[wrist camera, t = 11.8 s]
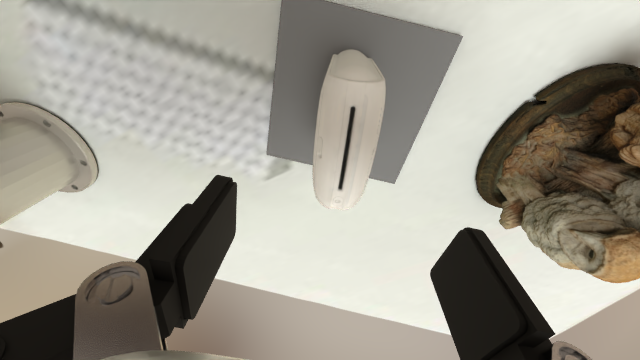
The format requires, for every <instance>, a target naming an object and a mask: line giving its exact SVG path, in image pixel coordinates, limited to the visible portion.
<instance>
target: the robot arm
mask: <svg viewBox="0 0 640 360" xmlns="http://www.w3.org/2000/svg"><path fill="white" fill-rule="evenodd" d="M97 173H98V172H97V164H96V161H95V158H94V156H93V154H92V152H91V150H90V149H89V147H88V146H87V144H86V143H85V142H84V141H83V139H82V138H81V137H80V136H79V135H78V134H77V133H76V132H75V131H74V130H73V129H72V128H71V127H69V126H68V125H67V124H66V123H64V122H63V121H61V120H60V119H59V118H57V117H55V116H54V115H52V114H50V113H49V112H47V111H44V110H42V109H40V108H38V107H35V106H32V105H28V104H25V103H18V102H12V103H5V104H1V105H0V224H2V223H4V222H6V221H7V220H9V219H11V218H12V217H14V216H16V215H17V214H19V213H21V212H23V211H24V210H26V209H28V208H29V207H31V206H33V205H35V204H36V203H38V202H40V201H41V200H43V199H45V198H47V197H48V196H50V195H52V194H53V193H55V192H57V191H61V192H79V191H82V190H84V189H86V188H88V187H89V186H91V185H92V184H93V183H94V182H95V180H96V178H97ZM236 201H237V183H236V182H233V179H232V178H230V177H225V176H220V175H216V176H215V177H214V178H213V180H212V181H211V182H210V183H209V185H208V186H207V187H206V188H205V189H204V191H203V192H202V193H201V194H200V196H199V197H198V198H197V199H196V201H195V202H194V203H193V204H185V205H184V206H183V207H182V208H181V209H180V211H179V212H178V213H177V214H176V215H175V216H174V218H173V219H172V220H171V221H170V222H169V223H168V225H167V226H166V227H165V228H164V229H163V230H162V232H161V233H160V234H159V235H158V236H157V237H156V239H155V240H154V241H153V242H152V243H151V244H150V246H149V247H148V248H147V249H146V250H145V251H144V253H143V254H142V255H141V256H140V257H139V259H138V260H137V261H136V262H118V263H114V264H110V265H108V266H105V267H102V268H101V269H99V270H97V271H96V272H94V273H92V274H91V275H90V276H89V277H88V278H86V279H85V280H84V281H83V283H82V284H81V286H80V287H79V288H78V290H77V294H75V295H72V296H70V297H67V298H64V299H62V300H60V301H57V302H54V303H52V304H49V305H46V306H44V307H41V308H39V309H36V310H33V311H31V312H29V313H26V314H23V315H21V316H18V317H15V318H13V319H10V320H8V321H5V322H3V323H0V360H248V359H241V358H233V357H226V356H220V355H213V354H206V353H195V352H185V351H168V348H167V344H166V339H165V338H167V337H168V336H170V334H171V333H172V331H173V329H174V327H178V328H184V327H185V325H186V323H187V321H188V319H194V318H195V316H196V314H197V312H198V310H199V308H200V306H201V304H202V302H203V300H204V298H205V296H206V294H207V292H208V290H209V288H210V286H211V284H212V282H213V280H214V278H215V276H216V274H217V272H218V269H219V267H220V265H221V263H222V261H223V259H224V257H225V255H226V253H227V251H228V249H229V247H230V245H231V243H232V241H233V239H234V236H235V232H236ZM430 276H431V280H432V282H433V285H434V288H435V291H436V293H437V296H438V299H439V302H440V304H441V307H442V310H443V313H444V315H445V318H446V321H447V324H448V326H449V329H450V332H451V335H452V337H453V340H454V343H455V346H456V348H457V351H458V354H459V357H460V360H592V359H591V358H590V357H589V356H587V355H586V354H585V353H583V352H582V351H581V350H580V349H578V348H577V347H575V346H573V345H572V344H569V343H566V342H562V341H557V342H555V343H553V344H552V343H551V342H550V340H549V338H550V337H552V336H553V335H555V333H554V331H553V330H552V329H551V327H550V326H549V324H548V323H547V321H546V320H545V319H544V317H543V316H542V314H541V313H540V311H539V310H538V309H537V307H536V306H535V304H534V303H533V301H532V300H531V299H530V297H529V296H528V294H527V293H526V291H525V290H524V289H523V287H522V286H521V284H520V283H519V281H518V280H517V279H516V277H515V276H514V274H513V273H512V271H511V270H510V268H509V267H508V266H507V264H506V263H505V261H504V260H503V258H502V257H501V256H500V254H499V253H498V251H497V250H496V248H495V247H494V246H493V244H492V243H491V241H490V240H489V238H488V237H487V236H486V234H485V233H484V232H483V231H482V230H478V229H473V228H464V229H463V230H460V231H459V232H458V234H457V235H456V236H455V238H454V239H453V240H452V242H451V243H450V245H449V246H448V247H447V249H446V250H445V251H444V253H443V254H442V255H441V257H440V258H439V259H438V261H437V262H436V264H435V265H434V266H433V268H432V269H431V272H430Z"/></svg>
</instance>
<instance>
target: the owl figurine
mask: <svg viewBox="0 0 640 360" xmlns="http://www.w3.org/2000/svg"><path fill="white" fill-rule="evenodd" d="M535 96H536V100H538V101H547V103H546V104H543V105H535V106H533V102H528V103H526V104H525V105H523V106H522V107H520V108H519V109H518V110H517V111H516V112H515V113H514V114H513V115H512V116H511V117H510V118H509V119H508V121H506V123H505V124H504V125H503V126H502V127H501V129H500V130H499V131H498V132H497V133H496V135H495V136H494V137H493V138H492V140H491V142H490V143H489V145H488V147H487V148H486V150H485V152H484V154H483V156H482V158H481V160H480V163H479V165H478V170H477V174H476V181H477V186H478V188H477V190H478V193H479V194H480V196H481V197H482V198H483V199H484V200H485V201H486V202H487V203H489V204H491V205H493V206H495V207H498V208H502V209H503V211H502V214H501V215H500V218H501V219H500V220H499V222H500V224H501V225H502V226H503V227H504V228H505V229H510V228H514V227H517V226H520V225H521V227H522V229H523V230H524V231H525V232H526V233H527V236H528V238H529V240H530V241H531V242H532V243H533V244H534V246H536V247H539V248H540V249H541V250H542V251H543V252H544V253H546V255H547V256H549V257H550V258H551V259H552V260H554V261H555V262H556V263H557V264H558V265H560V266H561V267H564V268H568V269H576V270H582V271H584V272H586V273H589V274H591V275H593V276H594V277H596V278H599V279H601V280H603V281H608V282H611V283H622V282H630V281H632V280H636V279H639V278H640V68H638V67H635V66H632V65H627V64H618V63H615V64H603V65H597V66H594V67H589V68H586V69H583V70H580V71H576V72H574V73H572V74H569V75H567V76H565V77H563V78H561V79H560V80H558V81H556V82H555V83H553V84H552V85H550V86H549V87H548V88H547V89H545V90H543V91H541V92H539V93H538V94H537V95H535ZM613 122H615V123H613Z"/></svg>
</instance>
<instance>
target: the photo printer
mask: <svg viewBox="0 0 640 360" xmlns="http://www.w3.org/2000/svg"><path fill="white" fill-rule="evenodd" d="M385 94H386V86H385V78H384V77H383V75H382V73H381V72H380V70H379V68H378V67H377V65H376V64H375V62H374V61H373V60H372V59H371V58H367V57H366V56H365V55H364V54H363V53H361V52H360V51H358V50H353V49H349V50H345V51H342V52H340V53H339V54H338V55H336V54H333V56H332V59H331V62H330V65H329V68H328V71H327V73H326V76H325V79H324V83H323V86H322V89H321V94H320V100H319V107H318V114H317V123H316V132H315V142H314V155H313V186H314V191H315V195H316V198H317V200H318V201H319V202H320V203H321V204H322V205H323V206H324V207H326V208H328V209H333V208H336V209H340V210H348V209H350V208H352V207H353V206H355V205H356V204H357V202H358V201H359V199H360V198H361V196H362V194H363V192H364V190H365V187H366V184H367V181H368V178H369V175H370V172H371V168H372V164H373V160H374V156H375V152H376V148H377V143H378V139H379V134H380V129H381V124H382V118H383V112H384V106H385Z"/></svg>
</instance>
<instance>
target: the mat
mask: <svg viewBox="0 0 640 360" xmlns="http://www.w3.org/2000/svg"><path fill="white" fill-rule="evenodd" d="M462 38H463V36H460V35H456V34H453V33H449V32H445V31H441V30H437V29H433V28H429V27H425V26H421V25H417V24H414V23H410V22H406V21H402V20H398V19H394V18H390V17H386V16H382V15H378V14H375V13H371V12H367V11H363V10H359V9H355V8H351V7H347V6H343V5H340V4H336V3H332V2H328V1H324V0H282V3H281V13H280V23H279V34H278V44H277V54H276V64H275V74H274V85H273V95H272V105H271V115H270V125H269V136H268V146H267V155H270V156H275V157H279V158H284V159H288V160H292V161H297V162H301V163H305V164H310V165H313V155H314V142H315V132H316V123H317V114H318V107H319V100H320V94H321V89H322V86H323V83H324V79H325V76H326V73H327V71H328V68H329V65H330V62H331V59H332V56H333V54H336V55H338V54H339V53H340V52H342V51H345V50H349V49H353V50H358V51H360V52H361V53H363V54H364V55H365V56H366V57H367V58H371V59H372V60H373V61H374V62H375V64H376V65H377V67H378V68H379V70H380V72H381V73H382V75H383V77H384V78H385V86H386V94H385V106H384V112H383V118H382V124H381V129H380V134H379V139H378V143H377V148H376V152H375V156H374V160H373V164H372V168H371V172H370V175H369V178H371V179H376V180H380V181H384V182H389V183H393V184H395V181H396V179H397V177H398V175H399V173H400V171H401V169H402V166H403V164H404V162H405V160H406V158H407V156H408V154H409V151H410V149H411V147H412V145H413V143H414V141H415V138H416V136H417V134H418V132H419V130H420V128H421V126H422V123H423V121H424V119H425V117H426V115H427V113H428V111H429V108H430V106H431V104H432V102H433V100H434V98H435V96H436V93H437V91H438V89H439V87H440V85H441V83H442V81H443V78H444V76H445V74H446V72H447V70H448V68H449V66H450V63H451V61H452V59H453V57H454V55H455V53H456V50H457V48H458V46H459V44H460V42H461V40H462Z"/></svg>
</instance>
